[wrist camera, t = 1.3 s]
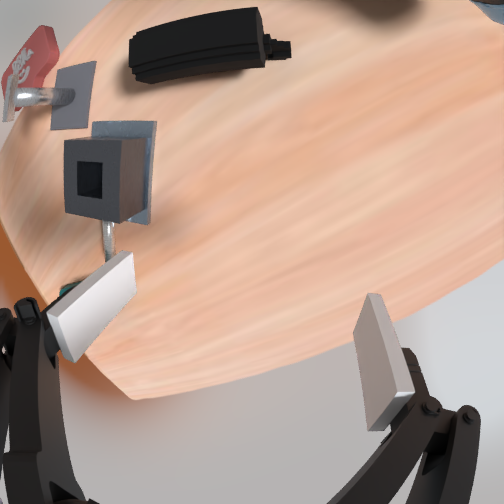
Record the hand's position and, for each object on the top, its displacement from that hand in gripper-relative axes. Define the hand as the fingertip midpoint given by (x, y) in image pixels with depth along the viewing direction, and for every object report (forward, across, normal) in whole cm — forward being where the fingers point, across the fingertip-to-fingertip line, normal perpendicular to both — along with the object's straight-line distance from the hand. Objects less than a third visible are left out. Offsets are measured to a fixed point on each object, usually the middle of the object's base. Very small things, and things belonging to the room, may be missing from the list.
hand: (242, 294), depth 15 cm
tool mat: (+25, -37, +15) cm, 47 cm away
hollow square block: (+25, -25, -2) cm, 36 cm away
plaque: (+26, -52, +23) cm, 63 cm away
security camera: (+26, -10, +19) cm, 33 cm away
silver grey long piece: (+24, -37, +15) cm, 47 cm away
